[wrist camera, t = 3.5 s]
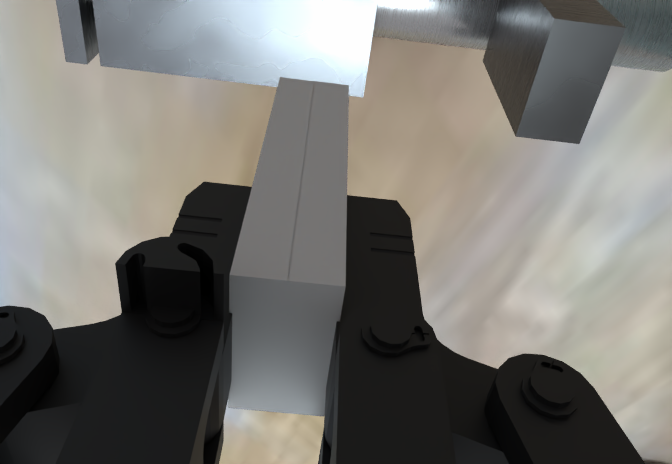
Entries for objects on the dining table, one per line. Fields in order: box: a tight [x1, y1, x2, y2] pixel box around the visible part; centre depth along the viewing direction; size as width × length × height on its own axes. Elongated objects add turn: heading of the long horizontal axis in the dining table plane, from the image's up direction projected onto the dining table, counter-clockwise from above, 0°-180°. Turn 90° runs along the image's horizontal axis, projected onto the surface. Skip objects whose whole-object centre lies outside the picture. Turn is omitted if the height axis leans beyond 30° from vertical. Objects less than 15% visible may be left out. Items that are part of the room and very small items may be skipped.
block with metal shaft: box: [373, 0, 672, 144], centre depth 21 cm, size 22×4×10 cm, turn 84°
